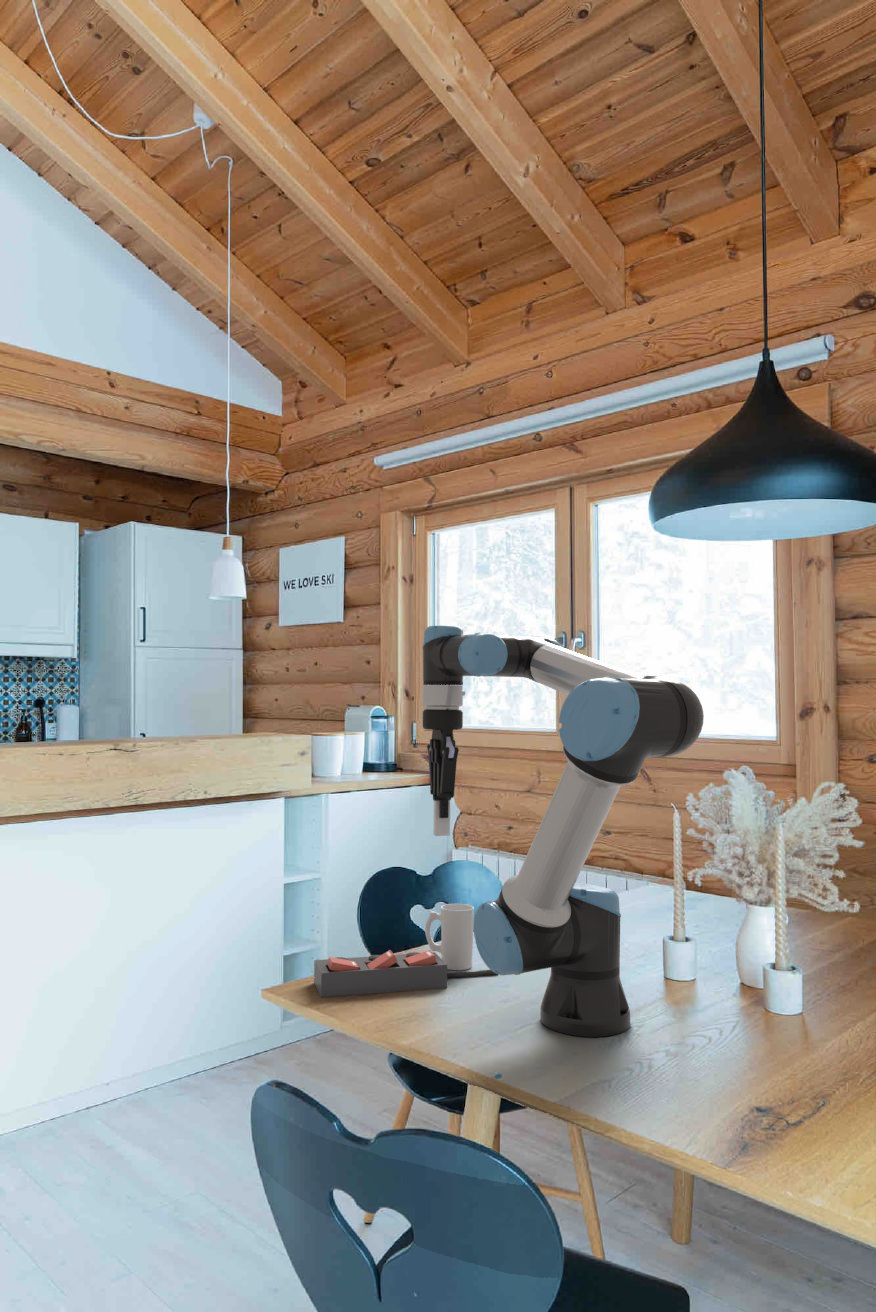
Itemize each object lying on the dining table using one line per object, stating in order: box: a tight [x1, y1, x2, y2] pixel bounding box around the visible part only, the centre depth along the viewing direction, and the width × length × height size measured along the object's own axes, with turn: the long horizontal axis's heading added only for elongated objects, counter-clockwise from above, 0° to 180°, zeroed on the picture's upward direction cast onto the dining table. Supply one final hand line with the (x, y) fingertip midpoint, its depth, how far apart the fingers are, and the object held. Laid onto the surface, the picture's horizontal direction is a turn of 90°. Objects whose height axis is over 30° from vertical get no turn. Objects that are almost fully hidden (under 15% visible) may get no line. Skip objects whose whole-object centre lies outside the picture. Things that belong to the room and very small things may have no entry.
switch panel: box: [313, 951, 497, 998], centre depth 183 cm, size 9×36×5 cm, turn 106°
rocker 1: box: [327, 956, 359, 971], centre depth 178 cm, size 4×5×2 cm
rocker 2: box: [367, 949, 397, 969], centre depth 180 cm, size 4×5×2 cm
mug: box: [424, 903, 475, 971], centre depth 195 cm, size 10×7×12 cm, turn 80°
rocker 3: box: [404, 949, 436, 966], centre depth 182 cm, size 4×5×2 cm
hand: (441, 834), depth 177 cm, fingers closed
